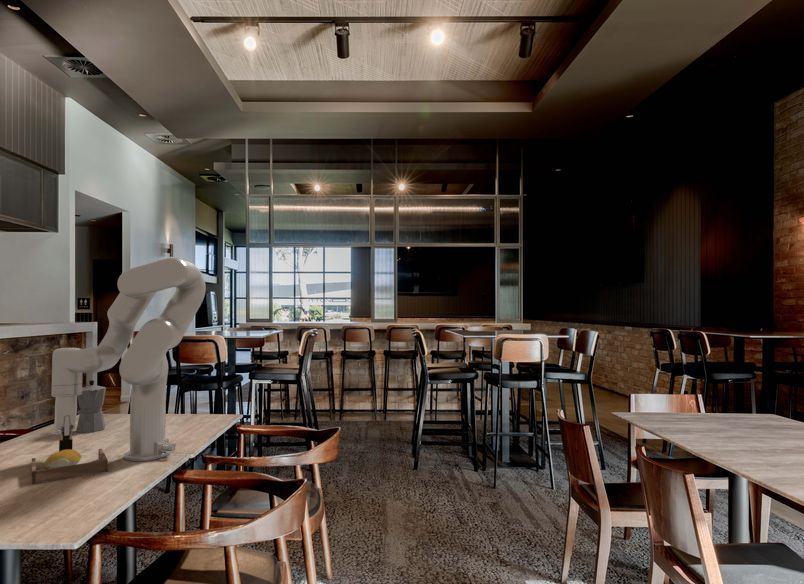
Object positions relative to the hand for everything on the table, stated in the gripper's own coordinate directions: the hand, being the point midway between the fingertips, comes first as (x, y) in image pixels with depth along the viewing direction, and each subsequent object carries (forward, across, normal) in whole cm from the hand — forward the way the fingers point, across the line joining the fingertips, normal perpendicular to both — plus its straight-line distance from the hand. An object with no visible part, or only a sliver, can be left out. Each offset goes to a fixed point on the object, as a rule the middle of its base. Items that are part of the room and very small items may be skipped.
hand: (65, 453), depth 150 cm
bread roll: (+2, +6, -1) cm, 6 cm away
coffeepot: (+2, -40, +9) cm, 41 cm away
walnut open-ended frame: (+2, +14, 0) cm, 14 cm away
